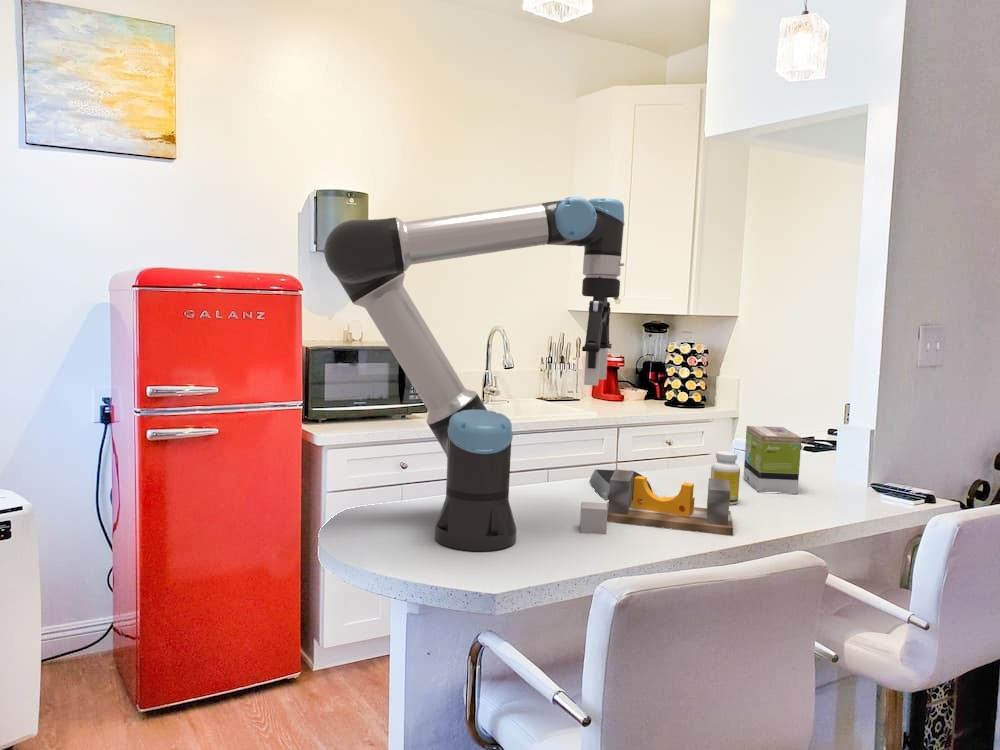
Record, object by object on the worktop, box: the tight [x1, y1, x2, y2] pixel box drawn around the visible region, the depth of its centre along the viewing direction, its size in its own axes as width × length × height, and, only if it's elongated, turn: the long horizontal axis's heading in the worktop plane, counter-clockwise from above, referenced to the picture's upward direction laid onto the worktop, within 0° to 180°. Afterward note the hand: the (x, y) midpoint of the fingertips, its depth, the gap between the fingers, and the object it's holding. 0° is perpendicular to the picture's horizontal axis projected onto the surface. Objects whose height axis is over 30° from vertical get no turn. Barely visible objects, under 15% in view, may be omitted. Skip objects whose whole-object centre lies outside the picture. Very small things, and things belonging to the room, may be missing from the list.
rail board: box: [606, 469, 734, 536], centre depth 167 cm, size 26×14×8 cm, turn 76°
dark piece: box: [589, 469, 654, 502], centre depth 192 cm, size 13×19×4 cm
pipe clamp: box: [633, 475, 695, 517], centre depth 168 cm, size 12×4×6 cm, turn 64°
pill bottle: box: [710, 450, 741, 506], centre depth 185 cm, size 6×6×12 cm
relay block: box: [579, 501, 608, 535], centre depth 157 cm, size 5×5×5 cm
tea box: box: [743, 425, 802, 495], centre depth 203 cm, size 15×10×15 cm, turn 178°
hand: (595, 382), depth 162 cm, fingers open, 13 cm apart
